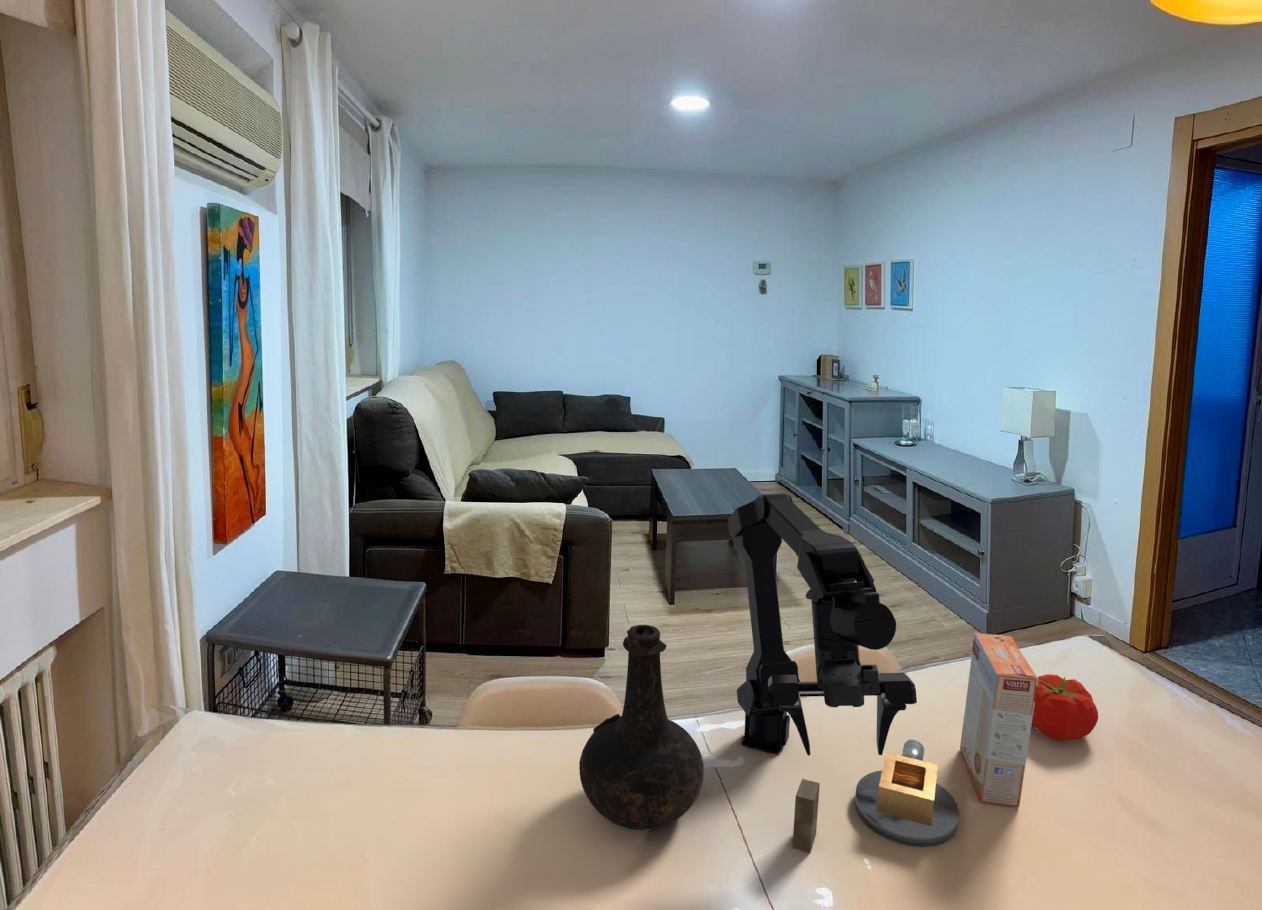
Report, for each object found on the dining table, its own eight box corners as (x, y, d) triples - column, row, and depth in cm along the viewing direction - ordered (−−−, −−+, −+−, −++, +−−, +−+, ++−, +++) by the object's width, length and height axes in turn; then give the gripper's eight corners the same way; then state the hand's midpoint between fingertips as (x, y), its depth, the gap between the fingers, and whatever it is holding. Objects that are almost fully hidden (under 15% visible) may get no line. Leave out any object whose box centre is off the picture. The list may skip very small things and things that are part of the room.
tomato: (1019, 702, 141) (1025, 659, 140) (1098, 725, 134) (1105, 680, 132) (1005, 734, 131) (1011, 688, 129) (1089, 760, 124) (1097, 712, 122)
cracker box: (1022, 809, 113) (1040, 678, 108) (978, 803, 114) (994, 673, 109) (998, 753, 126) (1013, 634, 121) (958, 748, 127) (972, 630, 123)
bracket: (847, 828, 108) (850, 790, 107) (865, 759, 124) (868, 726, 122) (955, 858, 103) (960, 819, 101) (960, 783, 118) (964, 748, 117)
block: (792, 847, 105) (795, 795, 103) (798, 829, 108) (802, 778, 106) (810, 853, 104) (813, 800, 102) (816, 834, 107) (819, 783, 105)
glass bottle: (640, 754, 125) (642, 591, 118) (728, 808, 112) (735, 629, 106) (553, 805, 112) (551, 627, 106) (641, 872, 100) (644, 674, 94)
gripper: (765, 650, 97) (773, 776, 97) (920, 646, 94) (930, 777, 94) (765, 633, 108) (772, 746, 108) (904, 629, 105) (912, 746, 105)
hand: (844, 754), depth 103 cm, fingers open, 9 cm apart
